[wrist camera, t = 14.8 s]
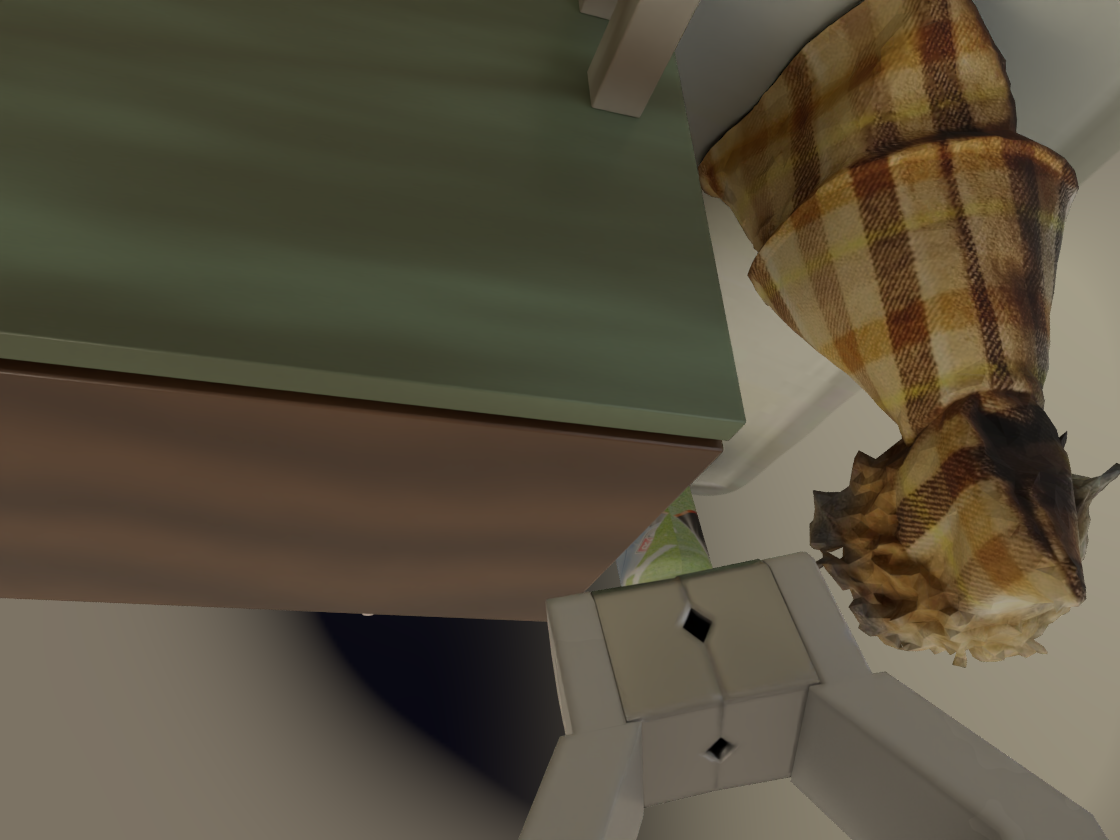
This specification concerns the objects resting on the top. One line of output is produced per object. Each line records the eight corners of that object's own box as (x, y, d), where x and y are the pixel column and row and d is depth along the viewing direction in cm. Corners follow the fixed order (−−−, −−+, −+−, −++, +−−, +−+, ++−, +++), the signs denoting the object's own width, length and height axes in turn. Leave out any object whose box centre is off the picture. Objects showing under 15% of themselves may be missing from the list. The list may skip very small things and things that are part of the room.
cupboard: (34, -194, 28) (-187, 351, 18) (640, -25, 34) (725, 451, 24) (78, 145, 40) (-44, 597, 29) (529, 226, 46) (555, 622, 36)
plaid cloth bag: (1134, 107, 40) (1334, 657, 26) (879, 276, 50) (919, 744, 35) (915, -101, 35) (1013, 447, 20) (677, 135, 45) (628, 618, 30)
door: (-3, -465, 23) (-338, 81, 13) (723, -207, 29) (872, 295, 19) (32, -200, 28) (-190, 337, 18) (644, -28, 34) (728, 441, 24)
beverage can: (581, 465, 68) (596, 624, 62) (626, 415, 62) (647, 586, 56) (657, 475, 70) (678, 630, 64) (707, 428, 65) (735, 594, 59)
